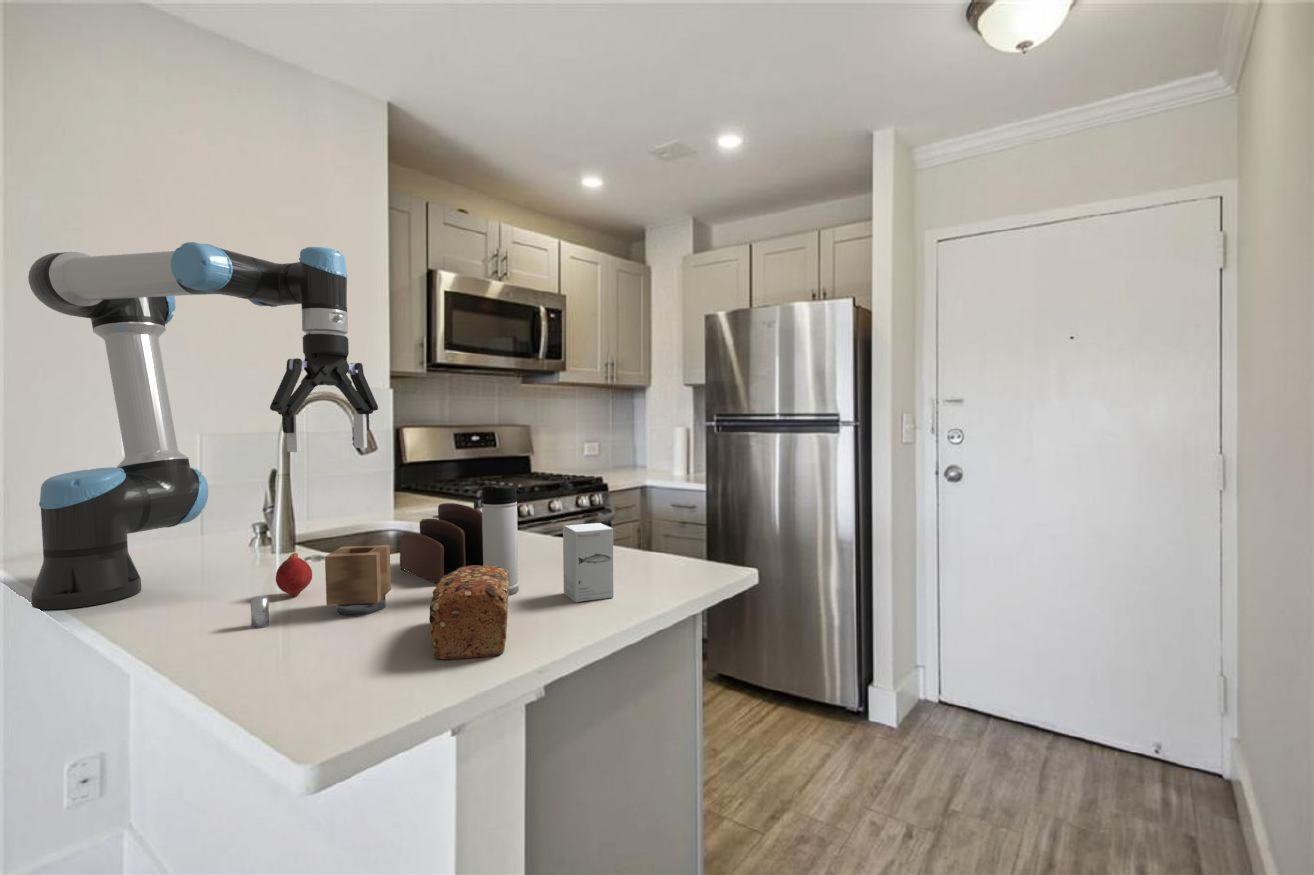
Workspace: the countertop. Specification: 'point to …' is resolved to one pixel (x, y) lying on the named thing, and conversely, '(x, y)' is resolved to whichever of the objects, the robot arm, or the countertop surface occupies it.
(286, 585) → the onion
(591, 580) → the supplement box
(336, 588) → the collar
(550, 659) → the countertop surface
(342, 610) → the hub
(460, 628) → the bread
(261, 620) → the grey rounded piece
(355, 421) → the robot arm
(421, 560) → the letter holder
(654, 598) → the countertop surface
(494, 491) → the travel mug
